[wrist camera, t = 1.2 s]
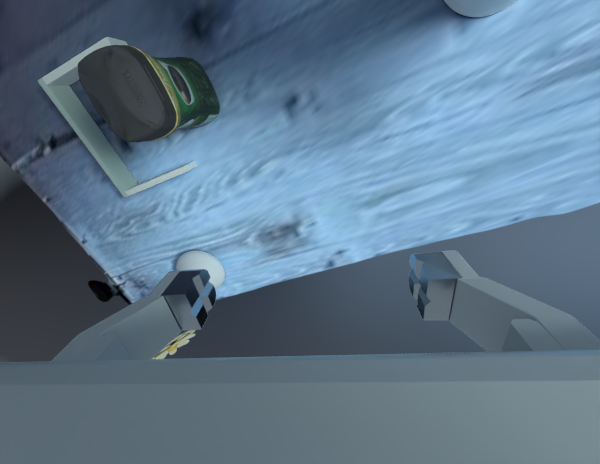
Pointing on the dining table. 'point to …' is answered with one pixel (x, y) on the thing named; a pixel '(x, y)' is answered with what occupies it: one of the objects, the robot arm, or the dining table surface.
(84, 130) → the report bay
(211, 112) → the coffee jar
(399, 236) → the dining table surface
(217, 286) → the flower in vase
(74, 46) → the dining table surface
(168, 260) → the dining table surface
